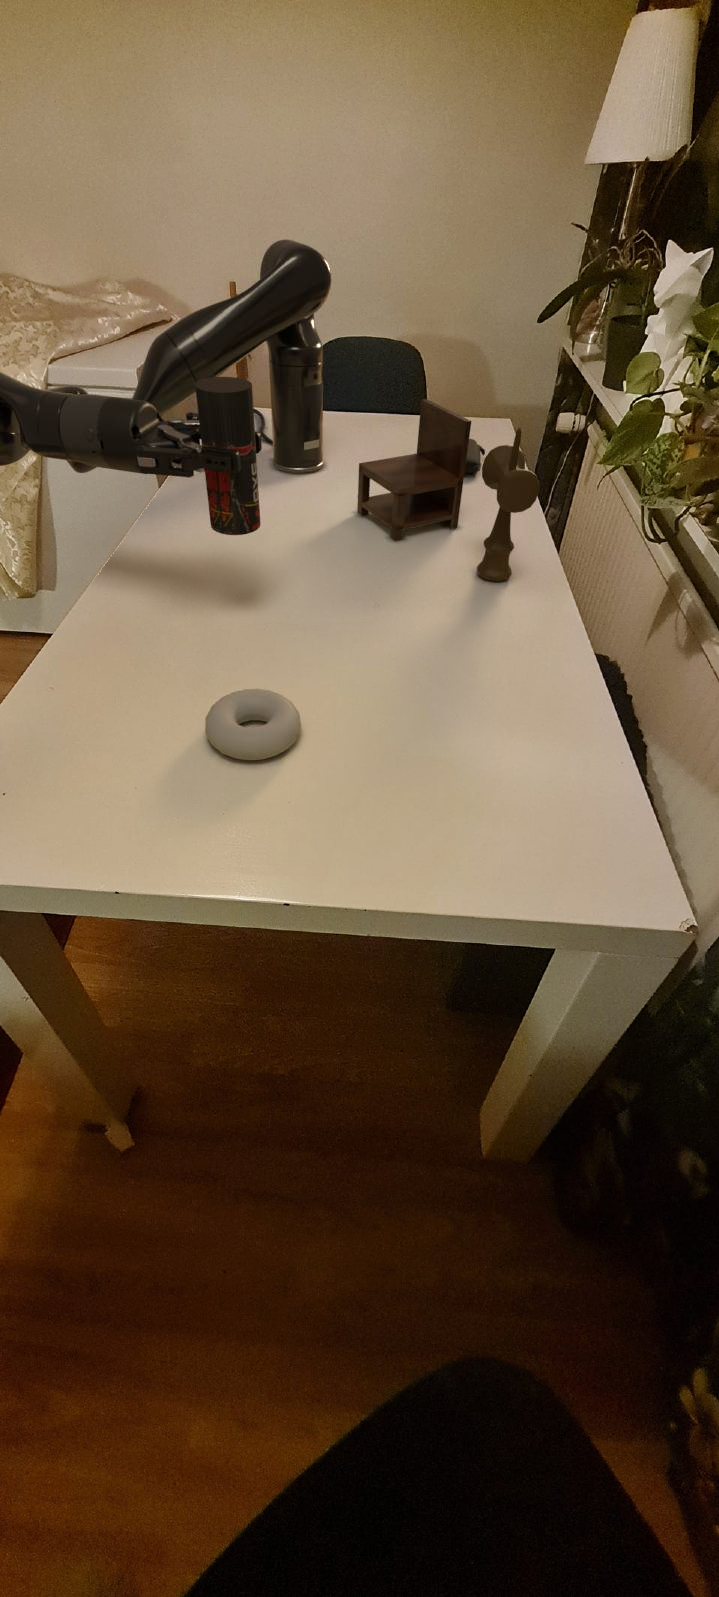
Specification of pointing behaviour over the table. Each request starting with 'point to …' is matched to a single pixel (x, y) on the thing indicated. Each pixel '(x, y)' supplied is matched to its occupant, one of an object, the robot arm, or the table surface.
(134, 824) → the table surface
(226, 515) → the deodorant
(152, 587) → the table surface
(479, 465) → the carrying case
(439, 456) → the miniature wooden chair
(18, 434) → the robot arm
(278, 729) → the donut
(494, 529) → the kendama
